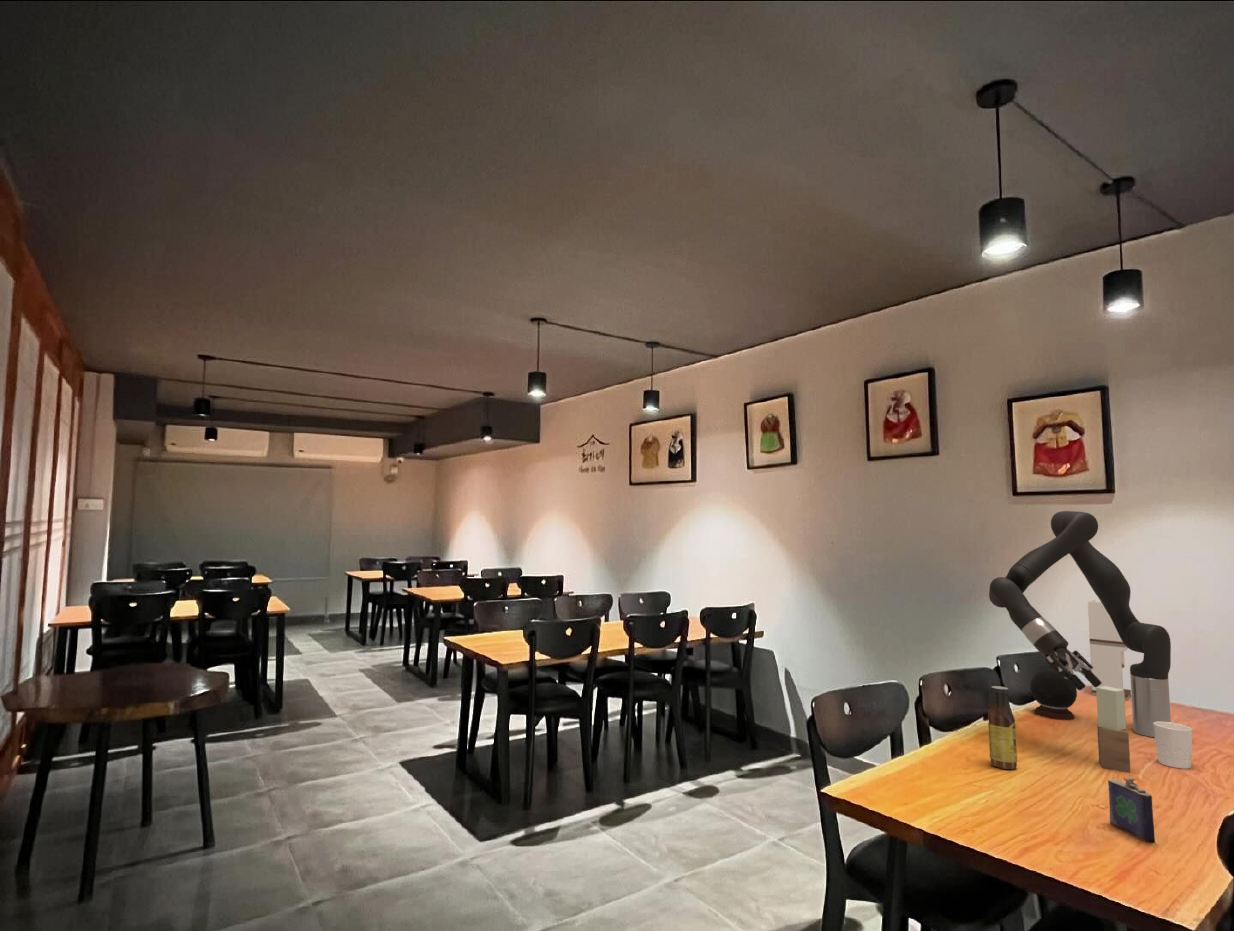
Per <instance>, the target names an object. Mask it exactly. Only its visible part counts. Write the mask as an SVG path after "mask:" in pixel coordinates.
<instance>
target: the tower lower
mask: <svg viewBox="0 0 1234 931" xmlns="http://www.w3.org/2000/svg"><path fill="white" fill-rule="evenodd" d="M1097 745H1098V746H1097V747H1098V751H1097V752H1098V762H1099V765H1100V767H1101V769H1103V770H1108V771H1109V770H1110V771H1116V772H1124V773H1128V774H1131V773H1132V772H1131V757H1130V755H1131V754H1130V752H1129V753H1127V752H1121V751H1114V750H1107V749H1101V748H1100V746H1099V744H1098V743H1097Z"/></svg>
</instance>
